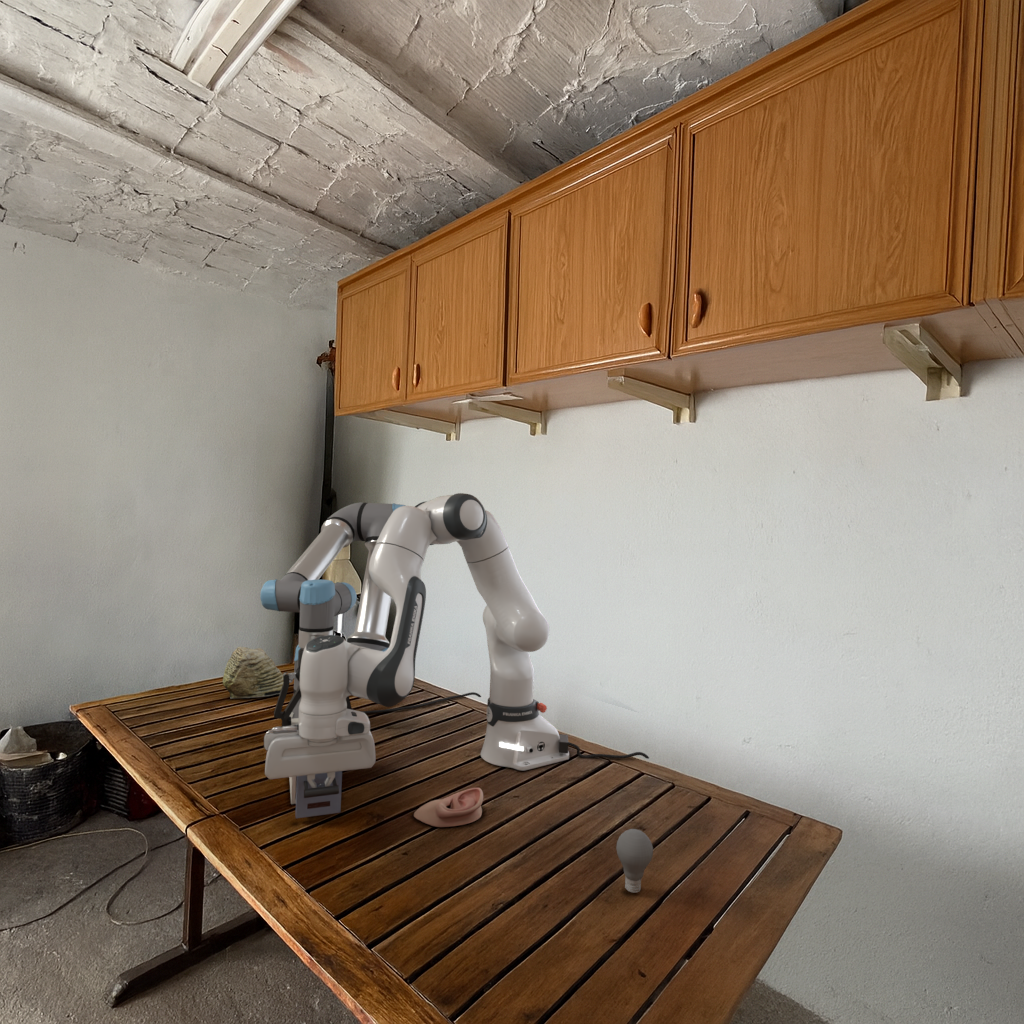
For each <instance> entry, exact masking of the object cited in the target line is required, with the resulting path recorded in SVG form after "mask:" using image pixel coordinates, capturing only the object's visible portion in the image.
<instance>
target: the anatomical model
mask: <svg viewBox="0 0 1024 1024" xmlns="http://www.w3.org/2000/svg"><path fill="white" fill-rule="evenodd" d="M483 802H484V792H483V790H482V788H480V787H471V788H467V789H464V790H461V791H458V792H456V793H454V794H451V795H449V796H446V797H444V798H441V799H440V798H439V799H434V800H430V801H429V802H427V803H424V804H423V805H421V806H419V808H418V809H417V810H415V811H414V813H413V817H414V818H415V819H416V820H417V821H419V822H422V823H424V824H426V825H428V826H432V827H434V828H435V827H436V828H449V827H450V828H451V827H457V826H464V825H467V824H471V823H474V822H475V821H477V820H479V819H480V818H481V817H482V814H483V809H482V805H483Z"/></svg>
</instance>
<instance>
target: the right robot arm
mask: <svg viewBox="0 0 1024 1024" xmlns="http://www.w3.org/2000/svg"><path fill="white" fill-rule="evenodd" d="M455 542H457V544H458V545H459V546H460V548H461V550H462V553H463V557H464V559H465V562H466V564H467V567H468V569H469V573H470V575H471V577H472V579H473V582H474V585H475V587H476V590H477V592H478V593H479V595H480V596H481V598H482V599H483V600H484V603H485V604H486V606H485V607H484V609H483V613H482V621H483V626H484V628H485V633H486V643H487V651H488V658H489V669H490V670H489V672H490V675H489V696H488V698H487V705H486V722H487V723H486V731H485V735H484V741H483V744H482V747H481V749H480V753H479V754H480V757H481V759H482V760H483V761H485V762H486V763H489V764H491V765H493V766H499V767H505V768H511V769H513V770H517V771H524V772H525V771H528V770H533V769H536V768H540V767H541V768H542V767H545V766H548V765H552V764H557V763H559V762H564V761H568V760H569V759H570V751H569V747H573V748H574V749H575V750H576V755H577V756H578V757H579V758H582V759H595V758H607V759H618V760H619V759H622V760H623V759H628V758H633V757H636V756H641V757H643V758H645V759H650V757H649V756H648V755H647V753H644V752H641V751H636V752H632V753H628V754H623V755H619V754H606V753H594V754H582V753H581V749H580V747H579V745H577V744H575V743H573V742H570V741H569V734H563V733H559V730H558V728H556V727H555V726H554V725H553V724H552V723H551V722H550V721H548V719H546V718H545V717H543V716H542V715H541V714H540V713H542V714H544V713H546V712H547V709H548V708H547V707H548V706H547V705H546V704H544V703H543V702H539V701H538V700H536V699H534V692H535V690H534V689H535V668H534V665H533V661H532V659H531V656H530V653H534V652H536V651H538V650H541V649H542V648H543V647H544V646H545V645H546V644H547V642H548V640H549V638H550V631H551V629H550V624H549V621H548V620H547V618H546V617H545V615H544V614H543V613H542V612H541V610H540V608H539V607H538V605H537V603H536V601H535V599H534V597H533V595H532V593H531V592H530V590H529V588H528V587H527V585H526V584H525V582H524V579H523V578H522V576H521V574H520V572H519V570H518V567H517V564H516V562H515V560H514V556H513V553H512V552H511V549H510V546H509V544H508V541H507V538H506V536H505V534H504V532H503V530H502V528H501V526H500V525H499V523H498V521H497V520H496V518H495V516H494V515H493V514H492V513H491V511H488V510H486V509H485V507H484V505H483V504H482V502H481V500H479V498H477V497H476V496H475V495H472V494H470V493H464V492H460V493H459V492H457V493H454V494H448V495H447V494H446V495H440V496H437V497H435V498H433V499H429V500H427V501H422V502H419V503H418V504H416V505H415V506H413V505H406V506H401V507H399V508H397V509H395V510H394V511H393V513H392V514H391V516H390V517H389V519H388V520H387V522H386V524H385V526H384V527H383V529H382V531H381V533H380V536H379V538H378V540H377V542H376V545H375V547H374V550H373V552H372V555H371V558H370V562H369V573H370V576H371V579H372V581H373V582H374V584H375V585H376V586H377V587H378V588H379V589H380V590H382V591H383V592H384V593H386V594H387V595H389V596H390V597H391V600H393V602H394V603H395V608H396V609H395V610H396V613H395V618H394V623H393V629H392V632H391V638H390V641H389V648H388V649H387V650H386V651H385V652H384V651H378V650H373V649H370V648H366V647H361V646H357V645H353V644H350V643H348V642H347V640H346V639H345V638H344V637H342V636H340V635H337V634H333V635H327V636H320V637H317V638H314V639H312V640H311V641H309V642H308V643H307V644H306V646H305V648H304V651H303V655H302V659H301V667H300V691H301V702H300V705H299V718H298V725H290V726H285V727H282V726H279V725H277V726H273V727H272V728H271V729H269V730H268V731H266V733H265V734H264V736H263V748H264V750H265V751H266V755H265V764H264V775H265V777H266V778H267V779H269V780H277V779H285V778H286V779H287V778H289V777H295V776H304V775H307V781H308V782H309V784H310V785H311V787H312V788H319V787H327V786H330V784H331V783H332V781H333V780H334V778H335V772H339V771H342V772H347V771H355V770H356V771H357V770H363V769H371V768H372V767H373V766H374V765H375V764H376V762H377V761H376V759H377V758H376V757H377V756H376V754H377V753H376V745H375V744H376V743H375V740H374V737H373V733H372V732H371V721H370V718H369V716H368V714H365V713H364V712H360V711H361V710H355V709H352V710H351V709H347V702H346V698H347V697H348V696H349V697H350V696H353V697H356V698H360V699H363V700H367V701H371V702H372V703H375V704H378V705H380V706H383V707H384V708H385V707H386V708H392V707H394V706H396V705H398V704H400V703H401V702H403V701H404V700H405V699H406V698H407V697H408V696H409V695H410V693H411V692H412V690H413V688H414V684H415V678H416V657H417V653H418V652H417V651H418V646H419V641H420V636H421V630H422V624H423V619H424V613H425V607H426V600H427V589H426V584H425V583H424V581H423V580H422V569H423V564H424V562H425V559H426V555H427V552H428V549H429V547H430V546H434V545H448V544H452V543H455ZM297 730H298V731H297ZM321 773H327V779H326V781H325V783H317V784H316V783H315V781H314V779H315V774H321Z"/></svg>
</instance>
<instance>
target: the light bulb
mask: <svg viewBox="0 0 1024 1024" xmlns="http://www.w3.org/2000/svg"><path fill="white" fill-rule="evenodd" d="M615 849H616V854H617V857H618V859H619V861H620V863H621V865H622V867H623V873H624V874H623V875H624V876H625V878H624V888H625V890H627V891H628V892H630V893H634V894H635V893H639V892H640V891H641V889H642V887H641V886H642V879H643V877H644V875H645V871H646V868H647V867H648V866H649V864H650V863H651V861H652V859H653V855H654V847H653V843H652V841H651V838H649V836H648V835H647V834H646V833H645V832H643V831H642V830H641V829H636V828H629V829H627V830H625V831H623V832H622V833H621V834H620V835H619V837H618V839H617V841H616V847H615Z"/></svg>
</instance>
